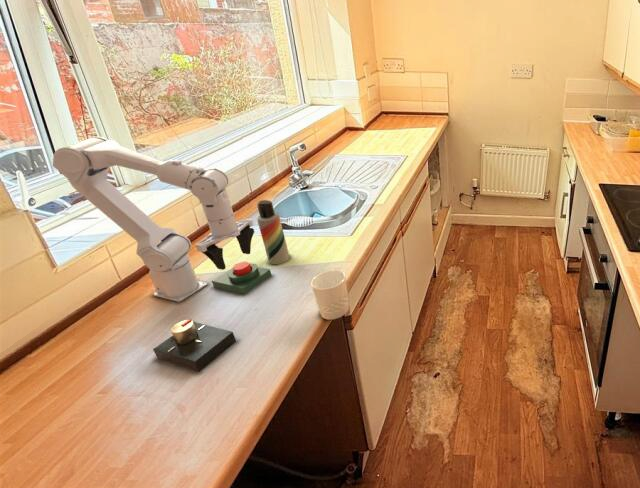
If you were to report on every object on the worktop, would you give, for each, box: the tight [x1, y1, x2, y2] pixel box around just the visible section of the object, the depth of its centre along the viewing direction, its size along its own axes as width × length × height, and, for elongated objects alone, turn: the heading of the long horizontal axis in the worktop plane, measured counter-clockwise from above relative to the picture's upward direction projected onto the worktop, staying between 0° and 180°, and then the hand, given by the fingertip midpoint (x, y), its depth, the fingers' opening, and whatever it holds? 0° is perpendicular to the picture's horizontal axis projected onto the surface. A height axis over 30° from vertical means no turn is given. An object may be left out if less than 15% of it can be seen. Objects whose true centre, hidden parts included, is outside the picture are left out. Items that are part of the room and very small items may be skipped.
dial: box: [170, 318, 198, 345], centre depth 89 cm, size 4×4×4 cm
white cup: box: [310, 269, 350, 321], centre depth 101 cm, size 8×8×10 cm
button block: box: [211, 262, 272, 295], centre depth 113 cm, size 11×9×4 cm
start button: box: [232, 261, 251, 275], centre depth 112 cm, size 4×4×2 cm
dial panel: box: [152, 321, 237, 373], centre depth 90 cm, size 12×9×3 cm
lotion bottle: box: [256, 199, 290, 265], centre depth 120 cm, size 6×6×20 cm
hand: (234, 260), depth 108 cm, fingers open, 7 cm apart
